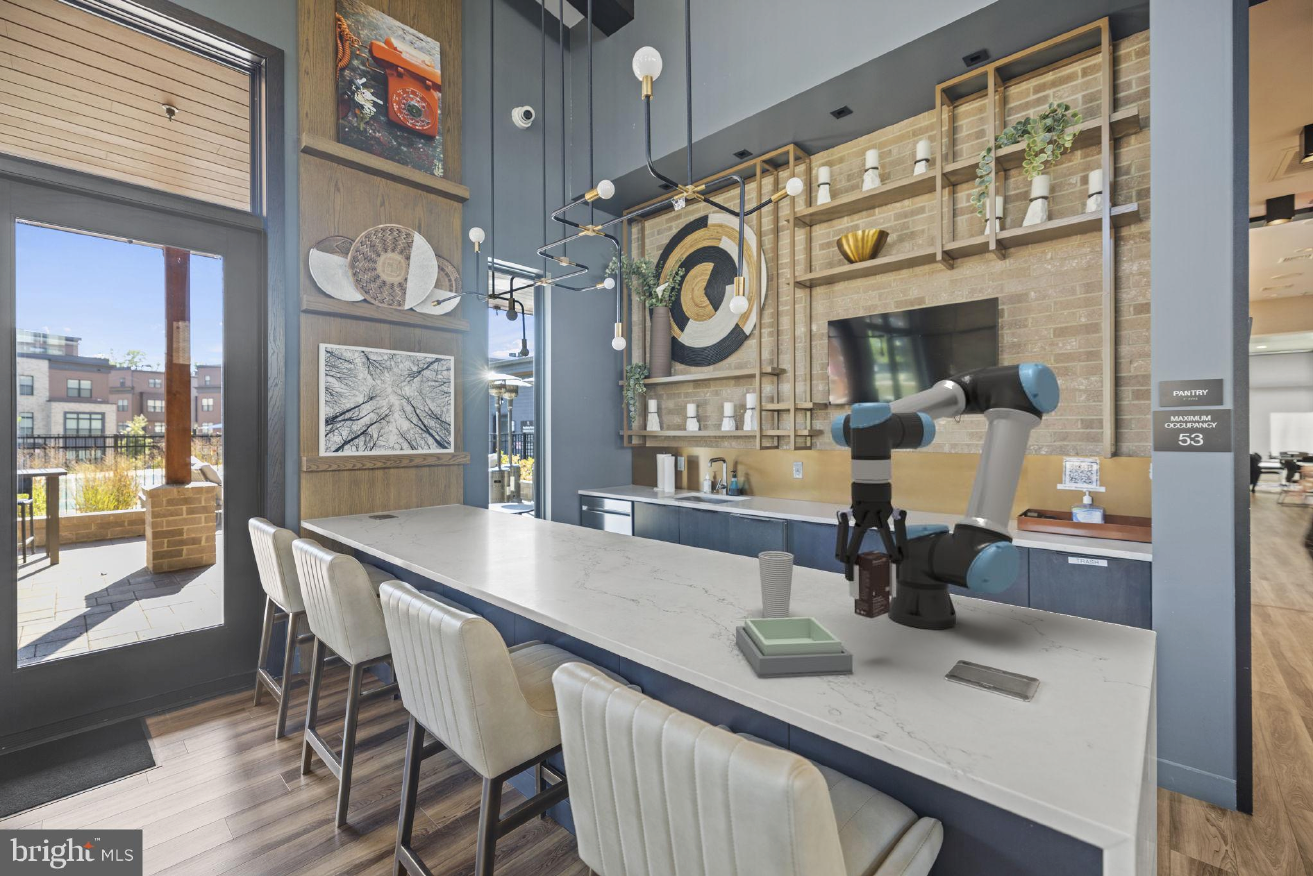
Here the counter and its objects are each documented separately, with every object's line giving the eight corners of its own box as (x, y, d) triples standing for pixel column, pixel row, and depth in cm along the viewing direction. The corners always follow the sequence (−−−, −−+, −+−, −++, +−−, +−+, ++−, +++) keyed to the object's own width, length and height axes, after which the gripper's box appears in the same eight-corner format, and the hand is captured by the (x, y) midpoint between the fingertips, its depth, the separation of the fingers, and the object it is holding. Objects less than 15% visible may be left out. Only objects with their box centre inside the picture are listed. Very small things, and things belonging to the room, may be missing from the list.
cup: (798, 615, 144) (798, 553, 144) (786, 625, 137) (786, 559, 136) (766, 610, 148) (766, 549, 148) (752, 619, 141) (753, 555, 141)
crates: (816, 639, 127) (816, 614, 127) (852, 673, 109) (852, 644, 109) (735, 642, 125) (736, 617, 125) (759, 678, 107) (759, 647, 107)
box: (873, 620, 112) (871, 558, 111) (853, 614, 115) (851, 554, 115) (892, 613, 115) (890, 553, 115) (872, 607, 119) (870, 549, 118)
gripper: (908, 477, 119) (909, 588, 120) (815, 480, 117) (817, 593, 118) (929, 481, 112) (930, 599, 112) (830, 484, 110) (832, 604, 110)
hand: (872, 595), depth 115 cm, fingers closed on box, 7 cm apart
